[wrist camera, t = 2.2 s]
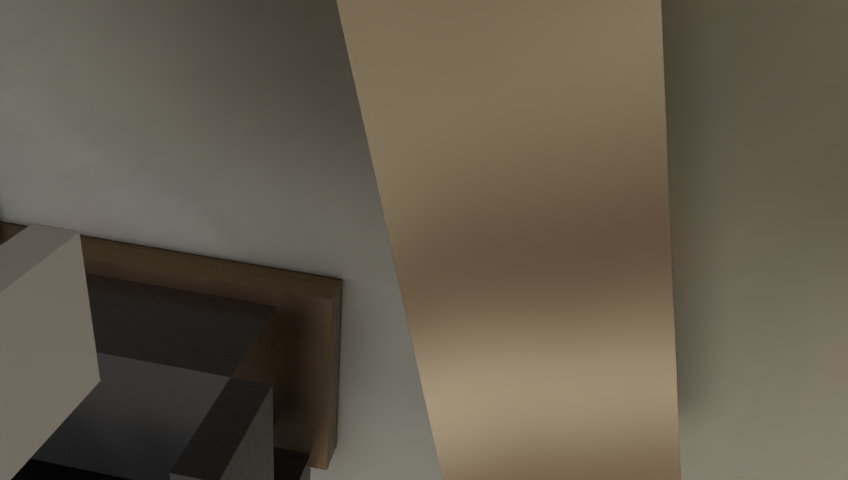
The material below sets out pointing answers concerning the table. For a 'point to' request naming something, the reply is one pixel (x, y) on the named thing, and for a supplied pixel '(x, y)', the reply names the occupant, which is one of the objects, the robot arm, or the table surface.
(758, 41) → the table surface
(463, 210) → the rail
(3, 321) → the robot arm
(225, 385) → the brackets
